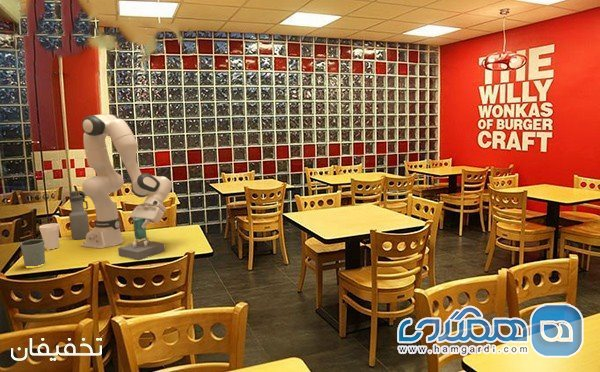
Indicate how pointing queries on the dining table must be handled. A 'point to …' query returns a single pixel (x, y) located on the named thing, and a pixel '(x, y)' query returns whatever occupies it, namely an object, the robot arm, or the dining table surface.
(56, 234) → the foam cup
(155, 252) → the peg stand
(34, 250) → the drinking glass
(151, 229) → the dining table surface
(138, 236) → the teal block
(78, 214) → the water bottle
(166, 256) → the dining table surface
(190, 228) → the dining table surface
